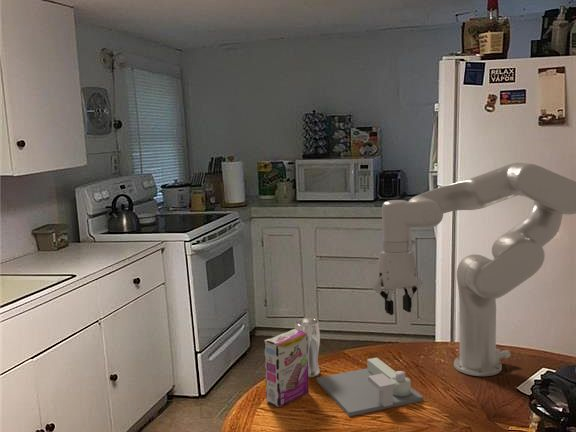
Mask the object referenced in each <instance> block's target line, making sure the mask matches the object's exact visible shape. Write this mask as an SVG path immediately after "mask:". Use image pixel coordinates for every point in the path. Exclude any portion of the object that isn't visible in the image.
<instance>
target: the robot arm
mask: <svg viewBox="0 0 576 432" xmlns="http://www.w3.org/2000/svg"><path fill="white" fill-rule="evenodd" d="M517 196H522V197H525V198H527V199H530V200H533V207H532V210H531V212H530V213H529V215H528V216H527V217H526V218H524V219H523V220H522V221H520V222H519V223H518V224H517V225H515V226H513V227H512V228H510V229H509V230H508V231H507V232H504V233H503V234H502V235H501V236H499V237H498V238H497V239H496V240H494V242H493V243H492V247H491V255H492V256H493V259H490V258H488V257H487V256H485V255H481V254H469V255H467V256H465V257H464V258H462V259H461V260H460V262H459V263H458V266H457V268H456V269H457V270H456V279H457V280H456V281H457V289H458V297H459V299H458V300H459V319H458V320H459V323H458V324H459V330H458V331H459V356H458V357H456V358H455V359H454V360H453V367H454V368H455V369H456V371H458V372H460V373H463V374H464V375H469V376H475V377H489V376H490V377H491V376H495V375H497V374H500V373H501V371H502V369H503V367H502V363H501V362H500V361H501V360H502V359H507V358H510V357H511V352H510V350H508V349H507V350H500V349H499V348H497V299H499V298H502V297H504V296H505V295H507V294H509V293H510V292H512V291H513V290H514V289H516V288H517V287H519V286H520V285H522V284H523V283H525V281H527V280H529V279H530V278H532V277H533V276H534V275H536V274H537V272H538V271H539V270H540V269H541V268H542V266H543V263H544V261H545V254H546V253H545V250H544V248H543V247H545V245H547V244H548V243H549V242H551V241H552V240H553V239H554V238H555V236H557V234H558V233H559V230H560V228H561V225H562V221H563V220H562V219H563V216H564V215H569V216H570V215H576V181H575V180H572V179H571V178H568V177H566V176H563V175H562V174H559V173H556V172H554V171H552V170H550V169H547V168H545V167H543V166H540V165H537V164H534V163H528V162H527V163H526V162H514V163H513V162H512V163H509V164H506V165H504V166H501V167H499V168H495V169H493V170H490V171H488V172H485V173H482V174H479V175H476V176H474V177H471V178H468V179H464V180H459V181H457V182H454V183H451V184H446V185H443V186H439V187H437V188H434V189H431V190H428V191H426V192H423V193H420V194H417V195H415V196H413V197H411V198H410V199H409V200H408V201H407V200H404V199H391V200H387V201H386V200H385V201H384V202H383V203H382V205H381V221H382V250H381V251H380V252H379V256H378V261H377V273H376V274H377V275H376V278H377V279H376V283H375V284H374V286H373V288H372V290H373V291H374V292H375V293H377V294H379V295H380V296H381V298H383V299H384V311H385V313H386V314H388V315H390V316H393V315H394V313H395V310H394V309H395V306H394V300H392V299H393V293H394V290H400V289H402V290H403V293H404V294H403V295H402V309H403V310H404V311H405V312H408V313H411V312H412V301H413V300H412V298H413V297H414V295H415V293H416V291H418V289H419V288H420V287H421V286H422V285H423V282H422V281H421V280H420V278H419V276H418V270H417V269H418V267H417V261H416V257H415V252H414V250H413V246H415V245H416V241H415V240H413V239H412V228H420V229H421V228H422V229H430V228H435V227H437V226H438V225H439V224H440V223H441V222H442V221H443V218H444V214H446V213H450V212H451V213H452V212H457V211H475V210H480V209H484V208H487V207H490V206H492V205H496V204H497V203H500V202H503V201H506V200H509V199H512V198H515V197H517ZM382 288H383V290H382Z"/></svg>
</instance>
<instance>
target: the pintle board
mask: <svg viewBox="0 0 576 432" xmlns="http://www.w3.org/2000/svg"><path fill="white" fill-rule="evenodd" d="M316 383H317V384H318V385H319V386H320V387H321V388H322V389H323V390H324V391H325V392H326V393H327V395H329V397H330V398H331V399H332V400H333V401H334V402H335V403H336V404H337V405H338V406H339V407H340V408H341V410H343V412H344V413H345V414H346V415H347V416H348V417H353V416H357V415H358V416H359V415H362V414H368V413H372V412H377V411H382V410H386V409H390V408H395V407H400V406H405V405H409V404H414V403H418V402H419V403H420V402H422V401H423V402H424V396H422V395H421V394H420V393H419V392H418V391H417V390H415V389H414V388H413V387H411V394H410V395H408V396H395V395H393V389H395V383H394V382H393V381H391V380H390V379H389V378H388V377H386V376H385V375H384V374H383V373H382V374H376V375H373V374H372V373H371V372H370V371H368V369H367V368H363V369H356V370H351V371H350V370H349V371H347V372H341V373H336V374H329V375H324V376H319V377H316Z"/></svg>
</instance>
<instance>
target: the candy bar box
mask: <svg viewBox="0 0 576 432" xmlns="http://www.w3.org/2000/svg"><path fill="white" fill-rule="evenodd" d="M263 345H264V370H265V372H264V373H265V394H266V395H265V396H266V398H265V399H266V400H265V402H267V404H270V405H272V406H275V407H277V408H281V407H283V406H285V405H287V404H289V403H291V402H293V401H294V400H297V399H298V398H300V397H302V396H304V395H307V394H308V393H309V387H310V386H309V377H308V348H307V333H306V332H303V331H299V330H296V329H295V328H294V329H290V330H289V331H286V332H283V333H281V334H278V335H274V336H272V337H270V338H267V339H264V344H263Z"/></svg>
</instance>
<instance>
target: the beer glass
mask: <svg viewBox="0 0 576 432" xmlns="http://www.w3.org/2000/svg"><path fill="white" fill-rule="evenodd" d="M294 329H296V330H299V331H303V332H306V333H307V348H308V378H314V377H317V376H319V375H320V366H319V351H320V349H319V348H320V345H321V342H320V341H321V333H320V332H321V331H320V323H319V319H317V318H313V317H302V318H299V319H296V320H295V322H294Z"/></svg>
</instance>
